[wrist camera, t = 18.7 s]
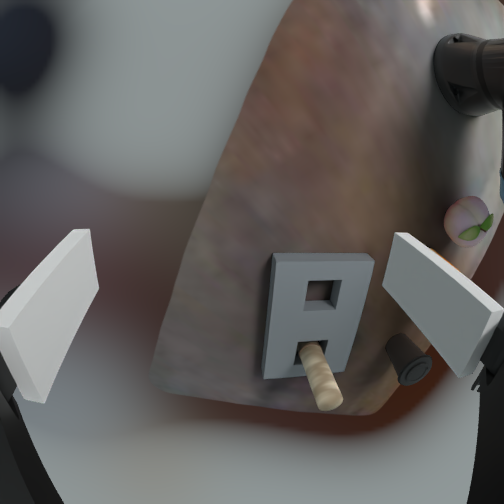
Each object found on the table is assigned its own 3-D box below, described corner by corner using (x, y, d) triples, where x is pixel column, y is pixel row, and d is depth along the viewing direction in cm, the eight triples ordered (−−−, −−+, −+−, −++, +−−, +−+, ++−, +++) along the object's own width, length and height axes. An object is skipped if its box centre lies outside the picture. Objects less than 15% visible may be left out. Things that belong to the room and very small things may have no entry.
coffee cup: (418, 335, 61) (441, 364, 52) (394, 361, 63) (413, 391, 54) (398, 323, 58) (422, 354, 49) (372, 351, 61) (392, 384, 52)
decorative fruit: (438, 243, 52) (471, 267, 43) (427, 208, 49) (463, 229, 39) (471, 217, 51) (505, 236, 42) (461, 181, 47) (499, 197, 38)
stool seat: (272, 252, 48) (276, 261, 46) (367, 253, 50) (374, 260, 48) (261, 368, 58) (263, 379, 55) (339, 361, 60) (344, 371, 57)
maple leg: (318, 332, 56) (346, 392, 43) (315, 349, 58) (339, 409, 44) (296, 334, 56) (320, 396, 42) (293, 351, 57) (314, 412, 44)
